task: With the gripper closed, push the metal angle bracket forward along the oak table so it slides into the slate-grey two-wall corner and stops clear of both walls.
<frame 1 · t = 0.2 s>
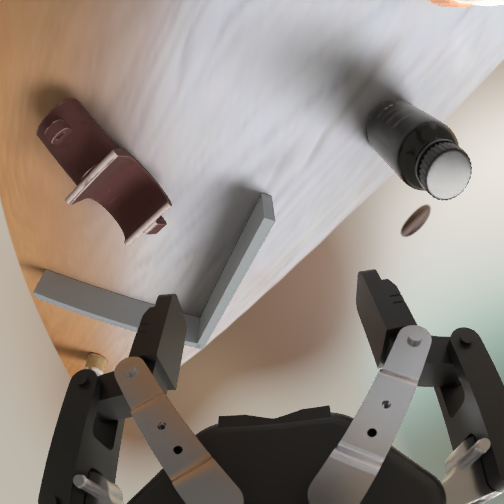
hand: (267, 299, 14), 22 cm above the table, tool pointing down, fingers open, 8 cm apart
sprinkles bottle: (98, 357, 59), on the table
supplement bottle: (392, 126, 30), on the table
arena: (135, 222, 37), on the table
bracket: (120, 156, 32), on the table
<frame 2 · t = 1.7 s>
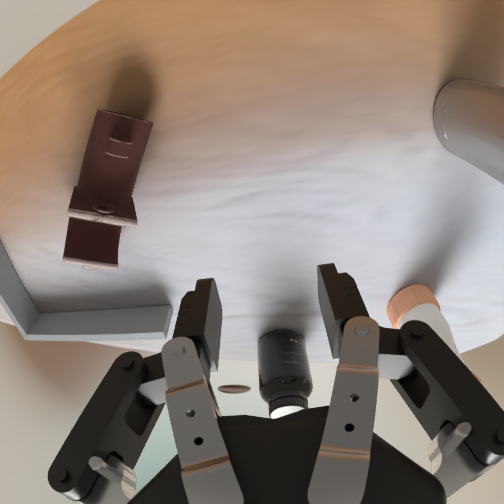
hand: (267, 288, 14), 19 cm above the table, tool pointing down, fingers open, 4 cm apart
pepper shaker: (408, 303, 41), on the table
supplement bottle: (281, 342, 45), on the table
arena: (72, 228, 34), on the table
bracket: (119, 185, 32), on the table
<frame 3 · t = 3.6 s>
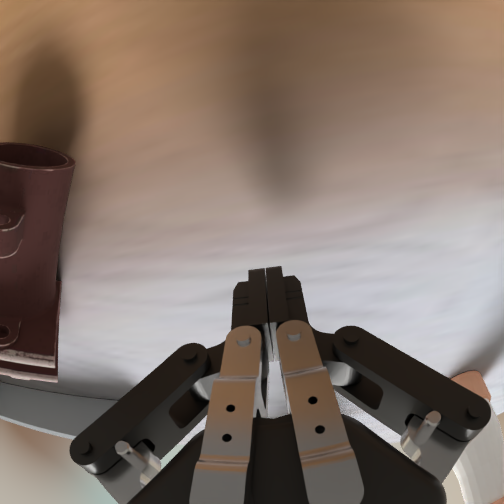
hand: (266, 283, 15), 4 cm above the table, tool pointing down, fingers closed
pepper shaker: (453, 389, 28), on the table
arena: (6, 307, 21), on the table
bracket: (48, 257, 19), on the table
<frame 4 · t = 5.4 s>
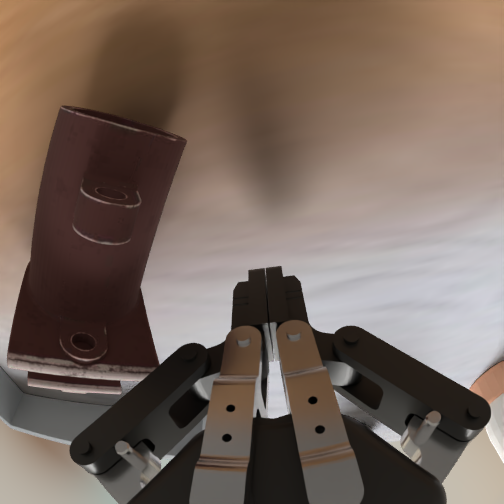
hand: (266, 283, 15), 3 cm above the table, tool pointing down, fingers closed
pepper shaker: (492, 377, 27), on the table
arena: (48, 314, 20), on the table
bracket: (113, 250, 18), on the table
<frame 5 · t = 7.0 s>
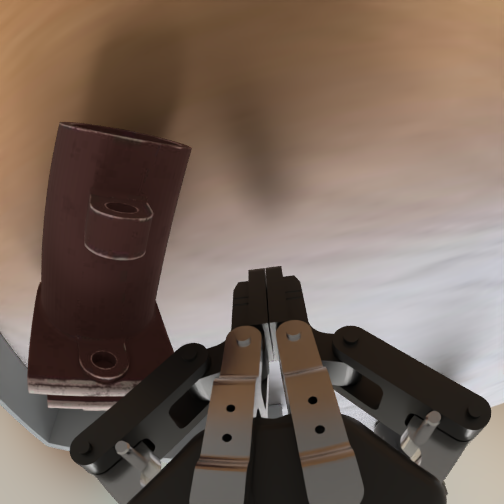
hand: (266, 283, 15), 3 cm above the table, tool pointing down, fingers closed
supplement bottle: (399, 417, 31), on the table
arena: (122, 313, 19), on the table
bracket: (124, 264, 18), on the table, touching hand
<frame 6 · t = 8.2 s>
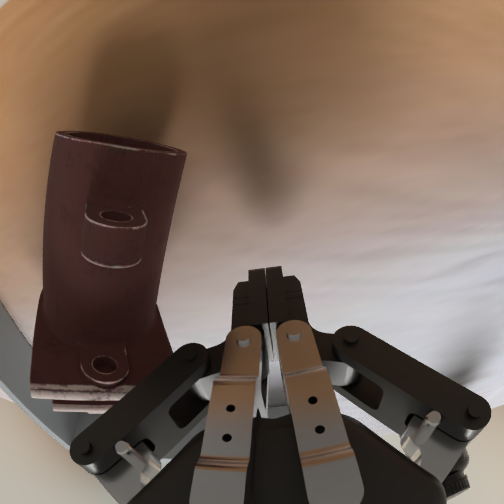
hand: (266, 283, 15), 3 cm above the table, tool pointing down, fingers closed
supplement bottle: (421, 413, 30), on the table
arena: (163, 310, 19), on the table
bracket: (126, 268, 18), on the table, touching hand
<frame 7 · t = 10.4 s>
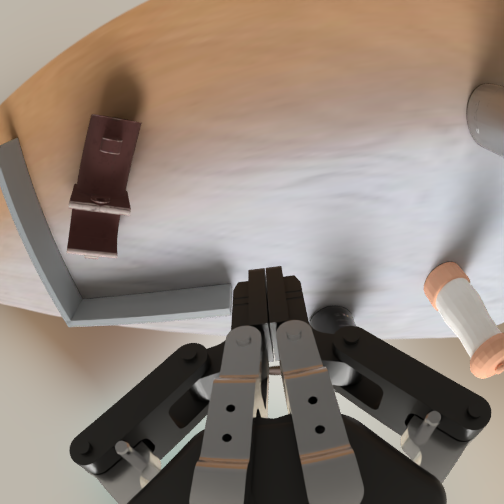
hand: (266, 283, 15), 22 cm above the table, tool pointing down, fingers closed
pepper shaker: (442, 280, 44), on the table
supplement bottle: (330, 319, 47), on the table
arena: (135, 207, 37), on the table
bracket: (115, 182, 35), on the table
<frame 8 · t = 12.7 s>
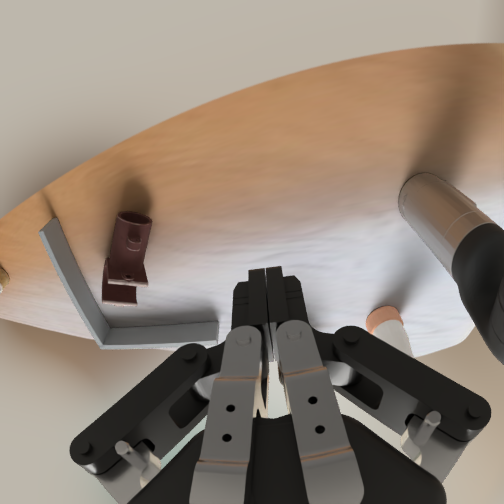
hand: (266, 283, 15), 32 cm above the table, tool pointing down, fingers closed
pepper shaker: (381, 318, 60), on the table
sprinkles bottle: (3, 275, 54), on the table
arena: (150, 272, 53), on the table
bracket: (134, 253, 52), on the table
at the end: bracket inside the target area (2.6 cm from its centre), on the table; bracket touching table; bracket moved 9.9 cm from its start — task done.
